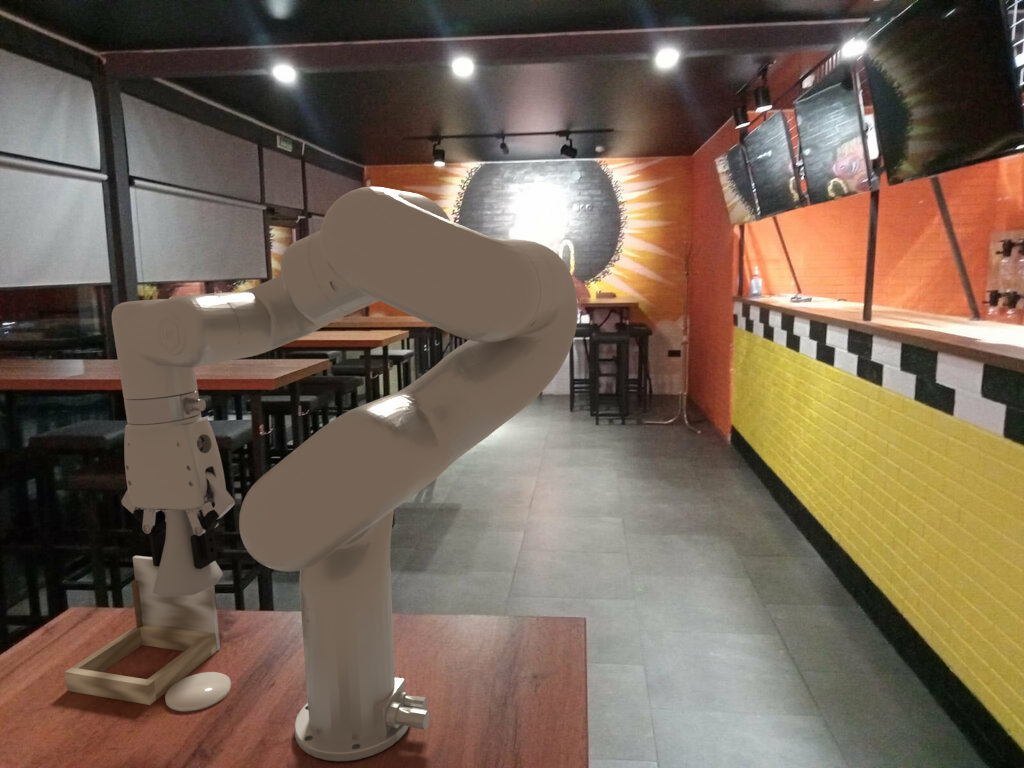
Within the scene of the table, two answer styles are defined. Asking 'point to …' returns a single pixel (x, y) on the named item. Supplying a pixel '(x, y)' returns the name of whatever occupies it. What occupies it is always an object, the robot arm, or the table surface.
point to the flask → (182, 561)
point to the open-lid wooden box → (152, 641)
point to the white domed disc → (198, 691)
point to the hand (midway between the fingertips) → (185, 561)
